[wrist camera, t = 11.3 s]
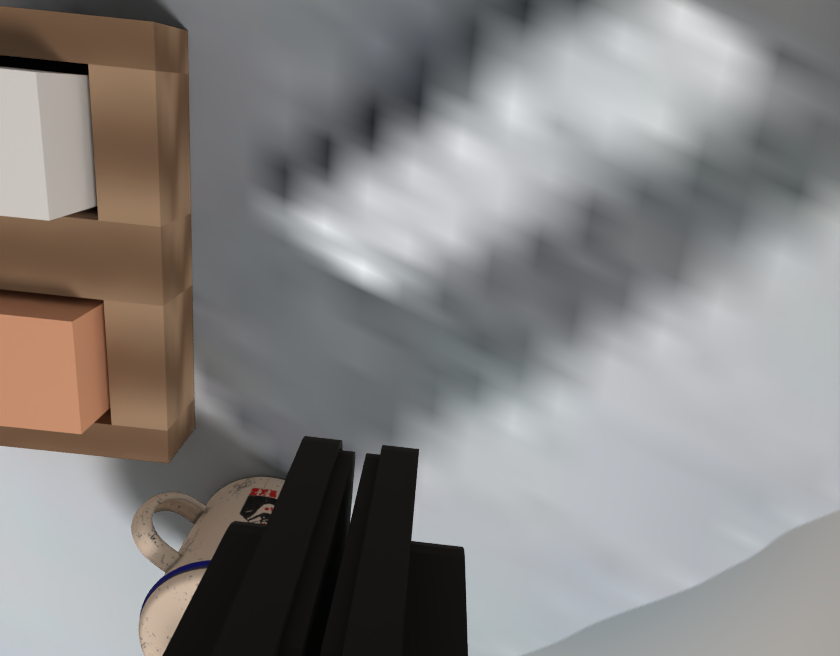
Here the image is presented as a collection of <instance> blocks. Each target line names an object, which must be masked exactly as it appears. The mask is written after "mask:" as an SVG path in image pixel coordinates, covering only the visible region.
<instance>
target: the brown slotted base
mask: <svg viewBox="0 0 840 656" xmlns="http://www.w3.org/2000/svg"><path fill="white" fill-rule="evenodd" d="M0 55H5V56H15V57H25V58H34V59H44V60H54V61H64V62H73V63H83V64H88V68H89V84H90V99H91V115H92V130H93V145H94V161H95V176H96V191H97V206H95V207H92V208H89V209H86V210H82V211H79V212H76V213H73V214H69V215H66V216H63V217H60V218H57V219H53V220H50V221H47V220H38V219H28V218H18V217H9V216H0V289H2V290H12V291H22V292H31V293H41V294H51V295H60V296H70V297H79V298H89V299H99V300H104V315H105V330H106V345H107V361H108V376H109V391H110V408H109V409H108V410H107V411H106V412H105V413H104V414H103V415H102V416H101V417H100V418H99V419H97V420H96V421H95V422H94V423H93V424H92V425H91V426H90V427H89V428H88V429H87V430H85V431H84V432H83V433H82V434H74V433H64V432H54V431H45V430H35V429H26V428H16V427H7V426H0V446H8V447H18V448H28V449H37V450H47V451H56V452H66V453H75V454H85V455H95V456H104V457H114V458H123V459H133V460H142V461H152V462H161V463H169V462H170V461H171V459H172V458H173V457H174V455H175V454H176V453H177V451H178V450H179V449H180V447H181V446H182V445H183V444H184V442H185V441H186V440H187V438H188V437H189V436H190V434H191V433H192V432H193V430H194V429H195V406H194V351H193V296H192V241H191V186H190V131H189V76H188V31H187V30H183V29H179V28H176V27H172V26H168V25H164V24H160V23H156V22H151V21H141V20H132V19H122V18H112V17H103V16H93V15H83V14H73V13H64V12H54V11H44V10H34V9H25V8H15V7H5V6H0Z"/></svg>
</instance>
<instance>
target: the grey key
mask: <svg viewBox="0 0 840 656" xmlns="http://www.w3.org/2000/svg"><path fill="white" fill-rule="evenodd" d="M95 206H97V191H96V176H95V161H94V145H93V130H92V115H91V99H90V84H89V75H82V74H72V73H62V72H53V71H43V70H33V69H24V68H14V67H4V66H0V216H9V217H18V218H28V219H38V220H47V221H50V220H53V219H57V218H60V217H63V216H66V215H69V214H73V213H76V212H79V211H82V210H86V209H89V208H92V207H95Z"/></svg>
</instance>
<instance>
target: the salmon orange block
mask: <svg viewBox="0 0 840 656" xmlns="http://www.w3.org/2000/svg"><path fill="white" fill-rule="evenodd" d="M109 408H110V391H109V376H108V361H107V345H106V330H105V315H104V300H99V299H89V298H79V297H70V296H60V295H51V294H41V293H31V292H22V291H12V290H2V289H0V426H7V427H16V428H26V429H35V430H45V431H54V432H64V433H74V434H82V433H83V432H84V431H85V430H87V429H88V428H89V427H90V426H91V425H92V424H93V423H94V422H95V421H96V420H97V419H99V418H100V417H101V416H102V415H103V414H104V413H105V412H106V411H107V410H108V409H109Z"/></svg>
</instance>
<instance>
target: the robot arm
mask: <svg viewBox="0 0 840 656" xmlns="http://www.w3.org/2000/svg"><path fill="white" fill-rule="evenodd" d="M418 455H419V449H413V448H404V447H396V446H387V445H382V449H381V454H380V455H378V454H369V453H367V454H366V457H365V461H364V465H363V470H362V474H361V478H360V483H359V487H358V491H357V496H356V500H355V505H354V509H353V513H352V518H351V522H350V516H351V504H352V491H353V479H354V467H355V452H352V451H343V450H342V440H334V439H326V438H317V437H308V436H304V438H303V439H302V442H301V444H300V446H299V449H298V451H297V453H296V456H295V458H294V461H293V463H292V465H291V468H290V470H289V472H288V475H287V477H286V479H285V482H284V484H283V487H282V489H281V491H280V494H279V496H278V498H277V501H276V503H275V506H274V508H273V510H272V513H271V515H270V517H269V520H268V522H267V524H259V523H250V522H241V521H234V522H232V523H231V524H230V525H229V527H228V528H227V530H226V532H225V534H224V536H223V538H222V540H221V541H220V543H219V545H218V547H217V549H216V551H215V553H214V555H213V557H212V559H211V561H210V563H209V565H208V567H207V569H206V571H205V573H204V575H203V577H202V579H201V581H200V583H199V585H198V587H197V589H196V591H195V593H194V595H193V596H192V598H191V600H190V602H189V604H188V606H187V608H186V610H185V612H184V614H183V616H182V618H181V620H180V622H179V624H178V626H177V628H176V630H175V632H174V634H173V636H172V638H171V640H170V642H169V644H168V646H167V648H166V650H165V651H164V653H163V655H162V656H468V644H467V613H466V581H465V555H464V548H463V547H458V546H450V545H441V544H432V543H424V542H415V541H411V537H412V525H413V513H414V502H415V490H416V478H417V467H418Z"/></svg>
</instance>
